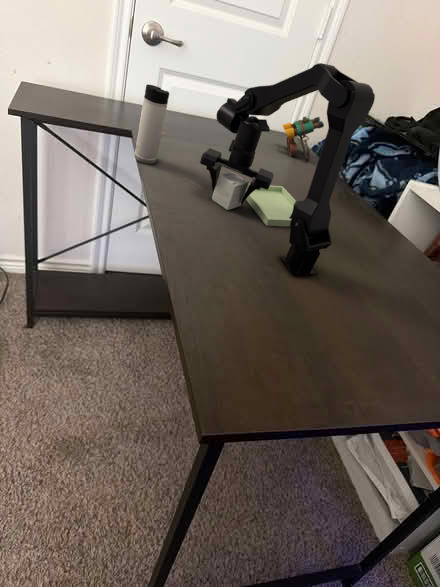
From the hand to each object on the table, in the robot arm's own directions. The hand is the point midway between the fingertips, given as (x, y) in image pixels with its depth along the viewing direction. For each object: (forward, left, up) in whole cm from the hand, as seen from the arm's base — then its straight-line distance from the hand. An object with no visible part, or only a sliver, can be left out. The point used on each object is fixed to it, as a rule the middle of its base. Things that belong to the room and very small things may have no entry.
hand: (227, 197), depth 115 cm
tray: (-1, -15, -2) cm, 15 cm away
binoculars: (+41, -46, -2) cm, 62 cm away
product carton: (0, 0, -2) cm, 2 cm away
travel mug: (+22, +17, -2) cm, 28 cm away
